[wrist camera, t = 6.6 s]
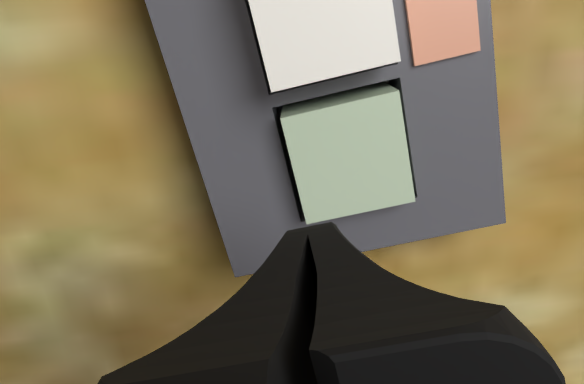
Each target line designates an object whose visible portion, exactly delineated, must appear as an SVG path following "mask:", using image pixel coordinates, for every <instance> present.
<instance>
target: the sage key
mask: <svg viewBox="0 0 584 384" xmlns="http://www.w3.org/2000/svg"><path fill="white" fill-rule="evenodd" d="M280 120H281V124H282V128H283V132H284V136H285V140H286V144H287V148H288V152H289V156H290V160H291V164H292V168H293V172H294V176H295V180H296V184H297V188H298V192H299V196H300V200H301V204H302V208H303V213H304V217H305V221H306V224H311V223H316V222H320V221H325V220H330V219H335V218H339V217H344V216H349V215H354V214H359V213H363V212H368V211H373V210H378V209H382V208H387V207H392V206H397V205H401V204H406V203H411V202H416V201H415V194H414V187H413V181H412V174H411V167H410V160H409V153H408V147H407V140H406V133H405V126H404V120H403V113H402V106H401V99H400V92H399V90H397V89H396V88H394V87H392V86H391V85H389V84H387V83H385V82H384V81H383V82H379V83H374V84H370V85H366V86H362V87H357V88H353V89H349V90H345V91H341V92H336V93H332V94H328V95H324V96H320V97H315V98H311V99H307V100H303V101H299V102H294V103H290V104H286V105H283V107H282V112H281V117H280Z"/></svg>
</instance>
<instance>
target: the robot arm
mask: <svg viewBox="0 0 584 384" xmlns="http://www.w3.org/2000/svg"><path fill="white" fill-rule="evenodd" d="M98 384H565V378H564V376H563V374H562V372H561V371H560V369H559V368H558V366H557V364H556V363H555V361H554V360H553V358H552V357H551V356H550V354H549V353H548V352H547V350H546V349H545V348H544V347H543V345H542V344H541V343H540V342H539V340H538V339H537V338H536V337H535V336H534V335H533V334H532V333H531V332H530V331H529V330H528V329H527V328H526V327H525V326H524V325H523V324H522V323H521V322H520V321H519V320H518V319H517V318H516V317H515V316H514V315H513V314H512V313H511V312H510V311H509V310H508V309H507V308H506V307H505V306H502V305H496V304H490V303H485V302H479V301H473V300H467V299H462V298H458V297H454V296H450V295H447V294H443V293H439V292H436V291H433V290H430V289H427V288H424V287H421V286H419V285H416V284H414V283H411V282H409V281H406V280H404V279H402V278H400V277H398V276H396V275H394V274H392V273H390V272H388V271H387V270H385V269H383V268H381V267H380V266H379V265H377V264H376V263H374V262H373V261H372V260H370V259H369V258H368V257H366V256H365V255H364V254H363V253H361V252H360V251H359V250H358V249H357V248H356V247H355V246H354V245H353V244H351V243H350V242H349V241H348V240H347V238H346V237H345V236H344V235H343V234H342V233H341V232H340V230H339V229H338V227H337V225H336V224H334V223H333V222H328V223H323V224H318V225H313V226H308V227H303V228H298V229H293V230H288V231H286V233H285V234H284V235H283V237H282V238H281V240H280V241H279V242H278V244H277V245H276V247H275V248H274V249H273V251H272V252H271V254H270V255H269V256H268V258H267V259H266V260H265V262H264V263H263V264H262V265H261V266H260V268H259V269H258V270H257V271H256V272H255V273H254V274H253V276H252V277H251V278H250V279H249V280H248V281H247V282H246V284H245V285H244V286H243V287H242V288H241V289H240V290H239V291H238V292H237V293H236V294H234V295H233V296H232V297H231V298H230V299H229V300H228V301H227V302H226V303H224V304H223V305H222V306H221V307H220V308H219V309H217V310H216V311H215V312H213V313H212V314H211V315H209V316H208V317H206V318H205V319H204V320H202V321H201V322H200V323H198V324H197V325H196V326H194V327H193V328H192V329H190V330H189V331H187V332H185V333H184V334H182V335H181V336H179V337H178V338H176V339H174V340H173V341H171V342H169V343H168V344H166V345H164V346H162V347H161V348H159V349H157V350H155V351H154V352H152V353H150V354H148V355H146V356H144V357H142V358H140V359H138V360H136V361H134V362H132V363H130V364H128V365H126V366H124V367H122V368H120V369H117V370H115V371H113V372H111V373H109V374H107V375H104V376H102V377H101V379H100V380H99V382H98Z"/></svg>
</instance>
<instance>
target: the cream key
mask: <svg viewBox="0 0 584 384" xmlns="http://www.w3.org/2000/svg"><path fill="white" fill-rule="evenodd" d="M248 1H249V5H250V9H251V13H252V17H253V21H254V25H255V29H256V33H257V37H258V41H259V45H260V49H261V53H262V57H263V61H264V65H265V69H266V73H267V77H268V81H269V85H270V89H271V92H275V91H280V90H284V89H288V88H292V87H296V86H300V85H304V84H309V83H313V82H317V81H321V80H325V79H329V78H334V77H338V76H342V75H346V74H350V73H354V72H358V71H363V70H367V69H371V68H375V67H379V66H383V65H387V64H392V63H396V62H400V61H401V58H400V51H399V44H398V37H397V30H396V23H395V16H394V9H393V2H392V0H248Z"/></svg>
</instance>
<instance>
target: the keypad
mask: <svg viewBox="0 0 584 384" xmlns="http://www.w3.org/2000/svg"><path fill="white" fill-rule="evenodd" d="M392 2H393V9H394V16H395V23H396V30H397V37H398V44H399V51H400V58H401V61H400V62H396V63H392V64H387V65H383V66H379V67H375V68H371V69H367V70H363V71H358V72H354V73H350V74H346V75H342V76H338V77H334V78H329V79H325V80H321V81H317V82H313V83H309V84H304V85H300V86H296V87H292V88H288V89H284V90H280V91H275V92H271V89H270V85H269V81H268V77H267V73H266V69H265V65H264V61H263V57H262V53H261V49H260V45H259V41H258V37H257V33H256V29H255V25H254V21H253V17H252V13H251V9H250V5H249V1H248V0H145V3H146V6H147V9H148V12H149V15H150V18H151V21H152V25H153V28H154V31H155V34H156V37H157V40H158V43H159V46H160V49H161V52H162V55H163V58H164V61H165V64H166V67H167V70H168V74H169V77H170V80H171V83H172V86H173V89H174V92H175V95H176V98H177V101H178V104H179V107H180V110H181V113H182V116H183V119H184V122H185V126H186V129H187V132H188V135H189V138H190V141H191V144H192V147H193V150H194V153H195V156H196V159H197V162H198V165H199V168H200V171H201V175H202V178H203V181H204V184H205V187H206V190H207V193H208V196H209V199H210V202H211V205H212V208H213V211H214V214H215V217H216V220H217V224H218V227H219V230H220V233H221V236H222V239H223V242H224V245H225V248H226V251H227V254H228V257H229V260H230V263H231V266H232V269H233V272H234V276H235V277H239V276H244V275H249V274H254V273H255V272H256V271H257V270H258V269H259V268H260V266H261V265H262V264H263V263H264V262H265V260H266V259H267V258H268V256H269V255H270V254H271V252H272V251H273V249H274V248H275V247H276V245H277V244H278V242H279V241H280V240H281V238H282V237H283V235H284V234H285V233H286V231H288V230H293V229H298V228H303V227H308V226H313V225H318V224H323V223H328V222H333V223H334V224H336V225H337V227H338V229H339V230H340V232H341V233H342V234H343V235H344V236H345V237H346V238H347V240H348V241H349V242H350V243H351V244H353V245H354V246H355V247H356V248H357V249H358V250H359V251H360V252H364V251H368V250H373V249H378V248H383V247H388V246H393V245H398V244H403V243H408V242H413V241H418V240H423V239H428V238H433V237H438V236H443V235H448V234H453V233H458V232H463V231H468V230H473V229H478V228H483V227H488V226H493V225H498V224H503V223H506V217H505V203H504V188H503V174H502V160H501V145H500V131H499V116H498V102H497V88H496V73H495V59H494V45H493V30H492V16H491V2H490V0H392ZM383 81H384V82H385V83H387V84H389V85H391V86H392V87H394V88H396V89H397V90H399V92H400V99H401V106H402V113H403V120H404V126H405V133H406V140H407V147H408V153H409V160H410V167H411V174H412V181H413V187H414V194H415V201H416V202H411V203H406V204H401V205H397V206H392V207H387V208H382V209H378V210H373V211H368V212H363V213H359V214H354V215H349V216H344V217H339V218H335V219H330V220H325V221H320V222H316V223H311V224H306V221H305V217H304V213H303V208H302V204H301V200H300V196H299V192H298V188H297V184H296V180H295V176H294V172H293V168H292V164H291V160H290V156H289V152H288V148H287V144H286V140H285V136H284V132H283V128H282V124H281V120H280V117H281V112H282V107H283V105H286V104H290V103H294V102H299V101H303V100H307V99H311V98H315V97H320V96H324V95H328V94H332V93H336V92H341V91H345V90H349V89H353V88H357V87H362V86H366V85H370V84H374V83H379V82H383Z"/></svg>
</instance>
